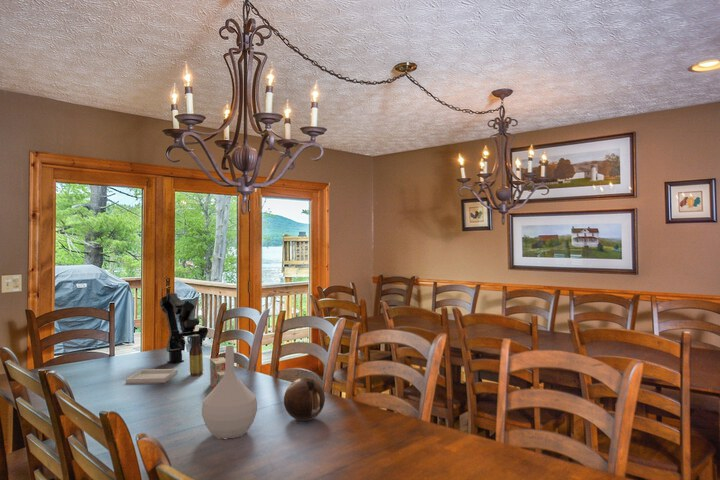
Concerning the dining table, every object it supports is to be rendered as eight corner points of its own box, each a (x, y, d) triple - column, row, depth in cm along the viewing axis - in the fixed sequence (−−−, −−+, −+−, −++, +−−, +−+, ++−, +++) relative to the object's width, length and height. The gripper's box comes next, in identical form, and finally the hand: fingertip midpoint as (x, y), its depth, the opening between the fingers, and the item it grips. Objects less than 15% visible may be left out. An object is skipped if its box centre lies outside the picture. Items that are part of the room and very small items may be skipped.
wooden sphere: (280, 415, 187) (280, 375, 187) (318, 410, 192) (318, 371, 192) (288, 429, 173) (288, 386, 173) (329, 423, 178) (329, 381, 178)
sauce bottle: (198, 372, 251) (198, 333, 252) (205, 374, 247) (205, 334, 248) (186, 375, 246) (186, 335, 246) (193, 377, 242) (193, 336, 243)
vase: (235, 420, 182) (235, 339, 182) (268, 432, 170) (268, 345, 170) (190, 435, 168) (190, 347, 168) (223, 449, 156) (222, 354, 156)
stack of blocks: (234, 395, 213) (233, 366, 214) (219, 397, 211) (219, 368, 211) (223, 382, 233) (223, 356, 233) (210, 384, 230) (209, 358, 230)
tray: (141, 373, 249) (141, 369, 249) (177, 373, 250) (177, 368, 250) (125, 383, 231) (125, 379, 231) (165, 383, 232) (165, 378, 232)
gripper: (170, 315, 250) (177, 340, 241) (206, 311, 261) (214, 335, 252) (166, 328, 257) (172, 353, 247) (201, 325, 268) (209, 348, 259)
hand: (192, 347), depth 251 cm, fingers open, 9 cm apart
